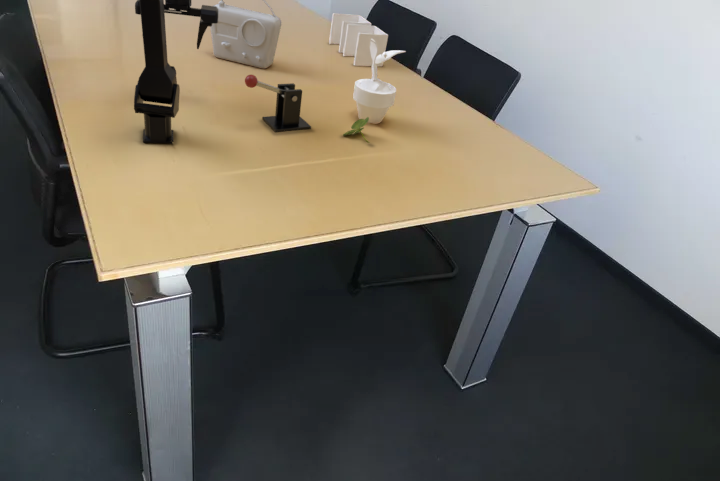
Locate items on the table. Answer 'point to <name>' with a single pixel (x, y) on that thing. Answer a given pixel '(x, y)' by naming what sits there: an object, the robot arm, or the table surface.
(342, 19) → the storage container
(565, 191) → the table surface
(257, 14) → the radio
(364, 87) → the potted plant
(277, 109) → the lever base
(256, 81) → the red knob lever
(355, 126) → the seedling
